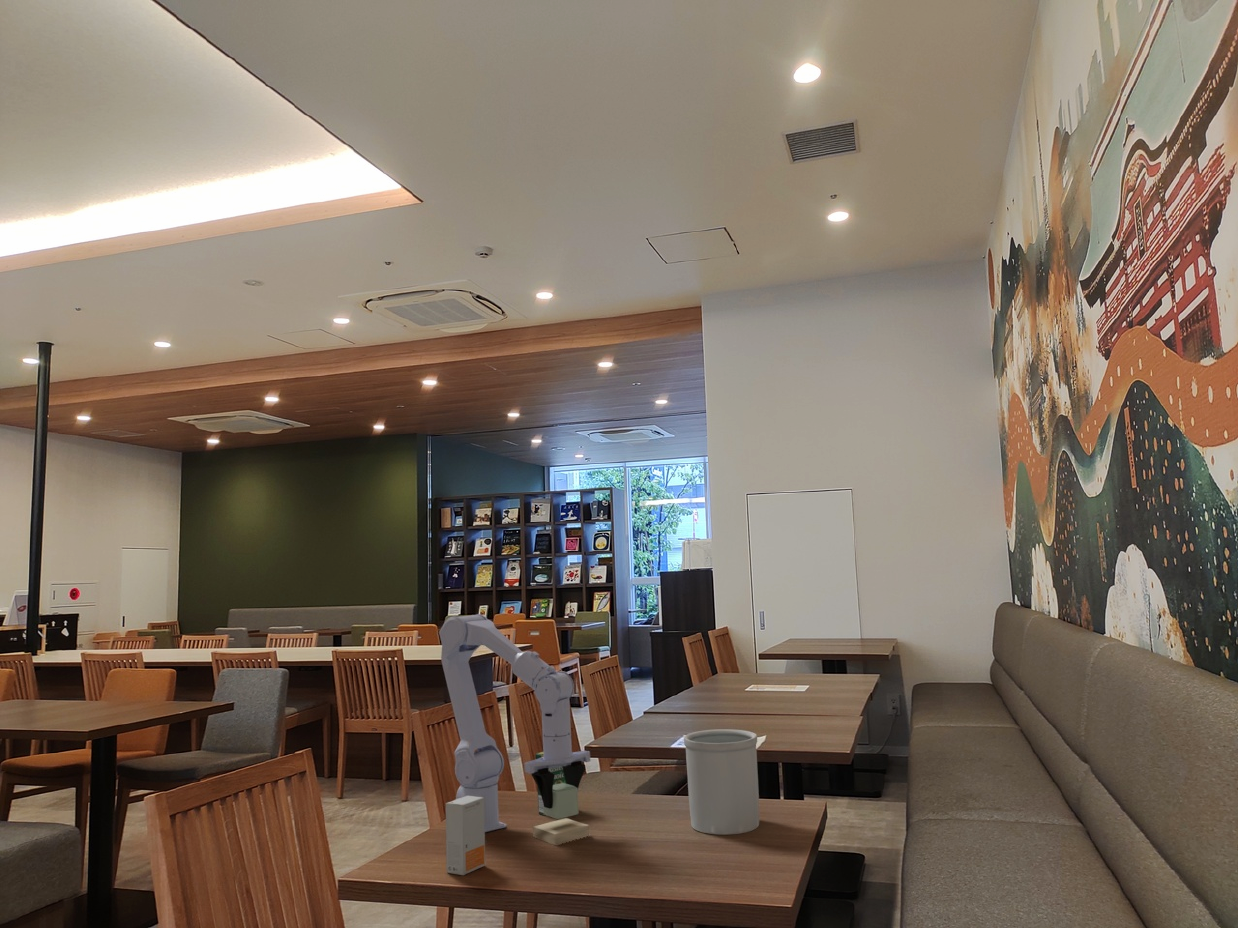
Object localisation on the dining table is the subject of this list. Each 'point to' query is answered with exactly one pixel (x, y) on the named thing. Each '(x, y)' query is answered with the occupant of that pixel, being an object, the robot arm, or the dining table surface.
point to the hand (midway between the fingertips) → (559, 804)
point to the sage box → (563, 801)
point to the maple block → (560, 831)
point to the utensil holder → (722, 781)
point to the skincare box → (465, 835)
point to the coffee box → (558, 779)
